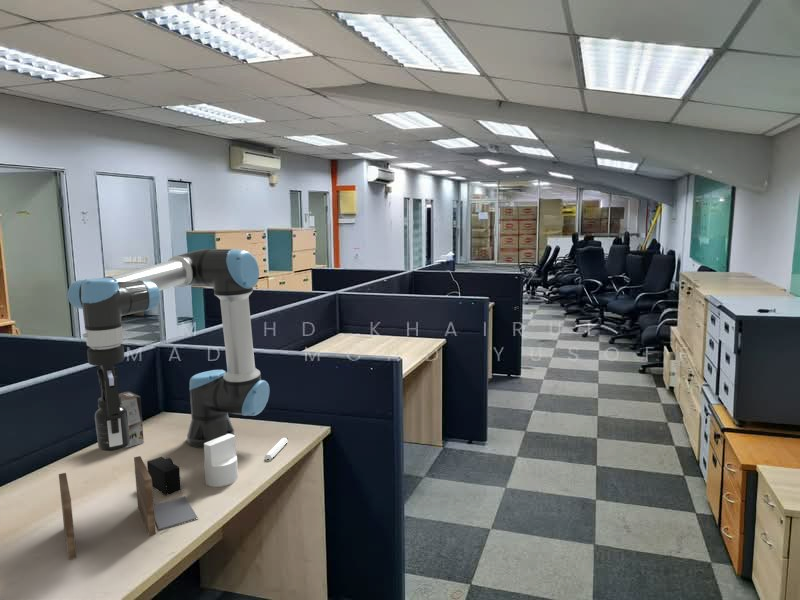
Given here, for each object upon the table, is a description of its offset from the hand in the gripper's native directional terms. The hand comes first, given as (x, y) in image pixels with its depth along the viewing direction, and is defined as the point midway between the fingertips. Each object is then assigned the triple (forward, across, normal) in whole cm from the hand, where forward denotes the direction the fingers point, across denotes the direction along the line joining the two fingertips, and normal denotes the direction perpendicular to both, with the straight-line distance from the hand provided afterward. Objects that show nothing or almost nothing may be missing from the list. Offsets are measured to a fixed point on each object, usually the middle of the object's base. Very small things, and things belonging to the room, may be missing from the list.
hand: (113, 439), depth 133 cm
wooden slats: (+23, 0, -3) cm, 23 cm away
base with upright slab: (+23, -12, +28) cm, 38 cm away
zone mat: (+23, 0, +12) cm, 25 cm away
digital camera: (+23, -16, +13) cm, 31 cm away
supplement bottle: (+2, 0, 0) cm, 2 cm away
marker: (+24, -22, +49) cm, 58 cm away
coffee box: (+23, -55, +9) cm, 61 cm away
